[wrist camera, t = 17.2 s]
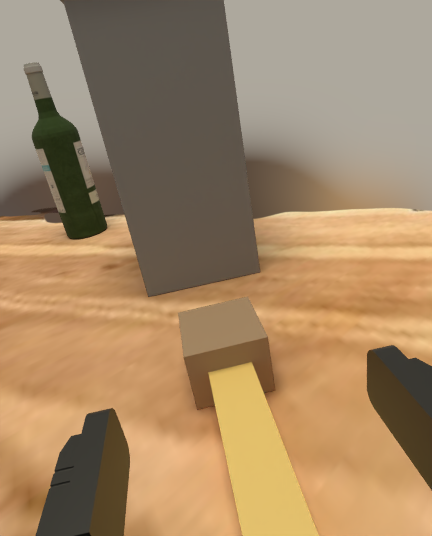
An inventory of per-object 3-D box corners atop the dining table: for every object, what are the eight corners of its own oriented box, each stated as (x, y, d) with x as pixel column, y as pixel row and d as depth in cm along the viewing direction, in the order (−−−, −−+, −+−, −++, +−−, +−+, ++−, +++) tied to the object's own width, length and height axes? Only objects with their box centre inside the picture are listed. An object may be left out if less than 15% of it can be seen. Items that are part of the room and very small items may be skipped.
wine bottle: (114, 227, 74) (63, 57, 61) (78, 242, 70) (14, 61, 57) (96, 222, 80) (45, 65, 67) (61, 236, 75) (-1, 70, 62)
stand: (265, 272, 46) (222, -57, 32) (144, 299, 45) (47, -28, 31) (237, 229, 61) (201, -6, 47) (147, 249, 60) (84, 15, 46)
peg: (389, 658, 15) (393, 591, 12) (241, 704, 14) (219, 643, 12) (255, 344, 34) (247, 296, 31) (190, 359, 33) (178, 312, 31)
